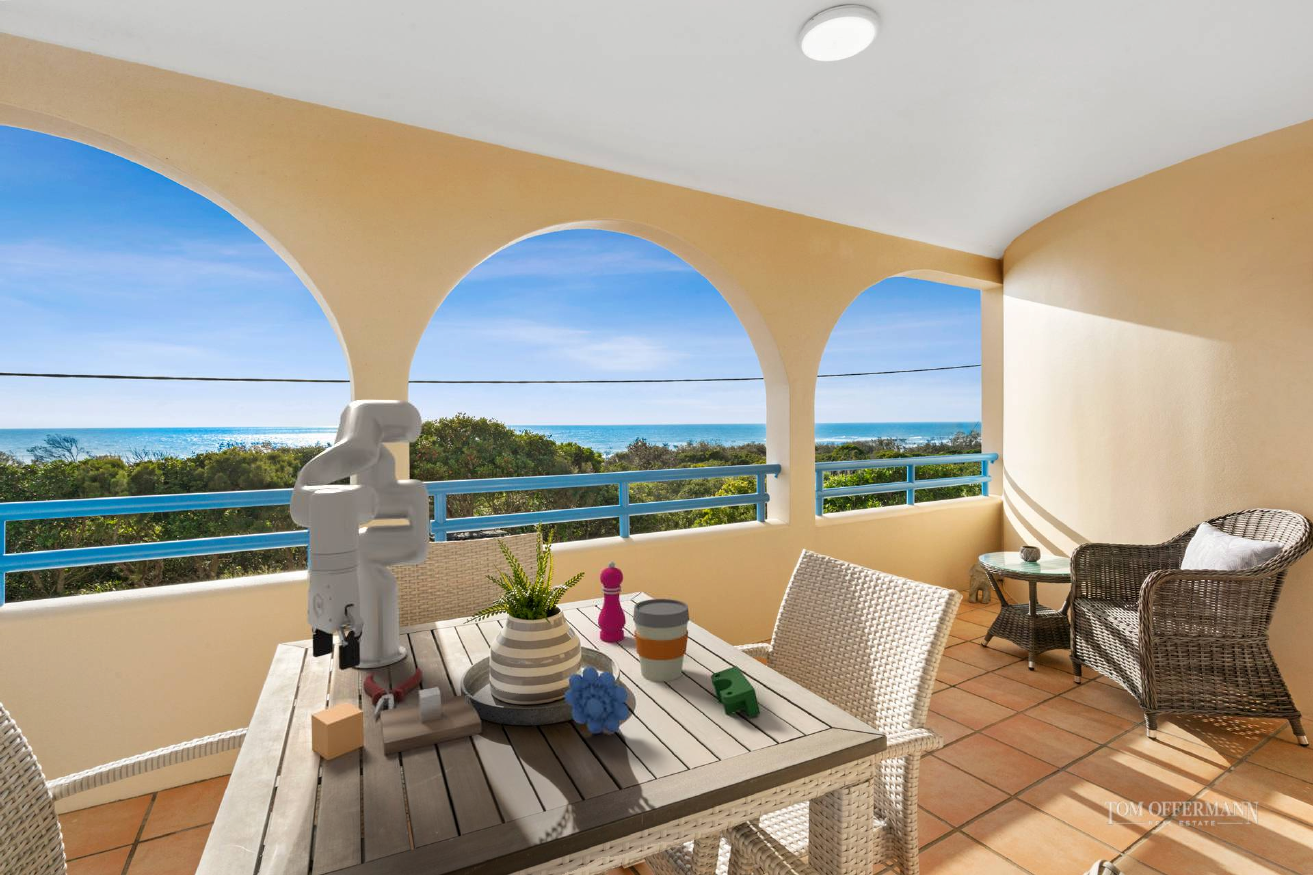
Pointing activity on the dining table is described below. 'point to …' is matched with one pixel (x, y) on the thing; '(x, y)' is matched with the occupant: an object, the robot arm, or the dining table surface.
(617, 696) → the blue knobbed flower
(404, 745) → the board
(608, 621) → the pepper mill
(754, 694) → the clamp
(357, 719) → the matte orange cube
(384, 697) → the pliers
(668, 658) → the reusable coffee cup
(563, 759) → the dining table surface
